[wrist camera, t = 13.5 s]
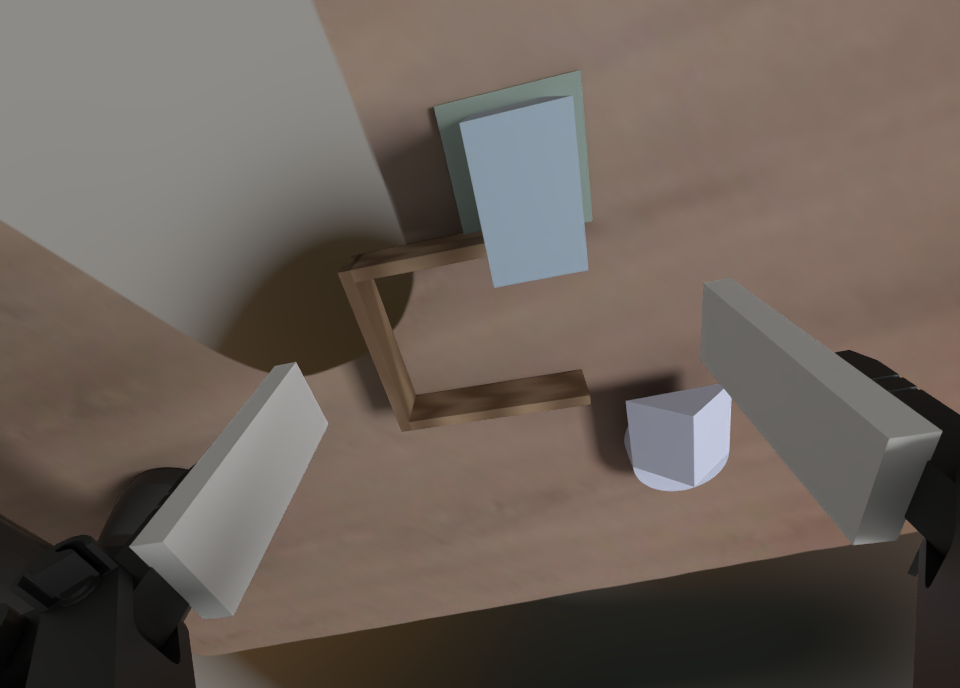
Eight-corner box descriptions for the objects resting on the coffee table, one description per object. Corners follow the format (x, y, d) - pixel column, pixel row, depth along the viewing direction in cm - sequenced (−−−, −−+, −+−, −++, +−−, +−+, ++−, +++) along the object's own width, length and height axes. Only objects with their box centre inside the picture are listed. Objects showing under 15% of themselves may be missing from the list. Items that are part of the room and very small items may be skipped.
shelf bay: (409, 404, 43) (401, 431, 39) (353, 255, 35) (337, 273, 31) (582, 378, 40) (590, 404, 37) (564, 212, 33) (572, 225, 29)
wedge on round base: (616, 379, 40) (627, 472, 47) (636, 426, 35) (646, 525, 41) (714, 360, 39) (712, 458, 45) (752, 406, 33) (744, 511, 39)
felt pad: (466, 244, 34) (466, 246, 34) (434, 106, 29) (433, 106, 29) (591, 219, 33) (592, 221, 32) (579, 70, 28) (580, 69, 27)
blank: (494, 227, 33) (494, 287, 22) (471, 114, 29) (459, 123, 19) (558, 214, 32) (588, 270, 22) (544, 96, 28) (572, 95, 18)
